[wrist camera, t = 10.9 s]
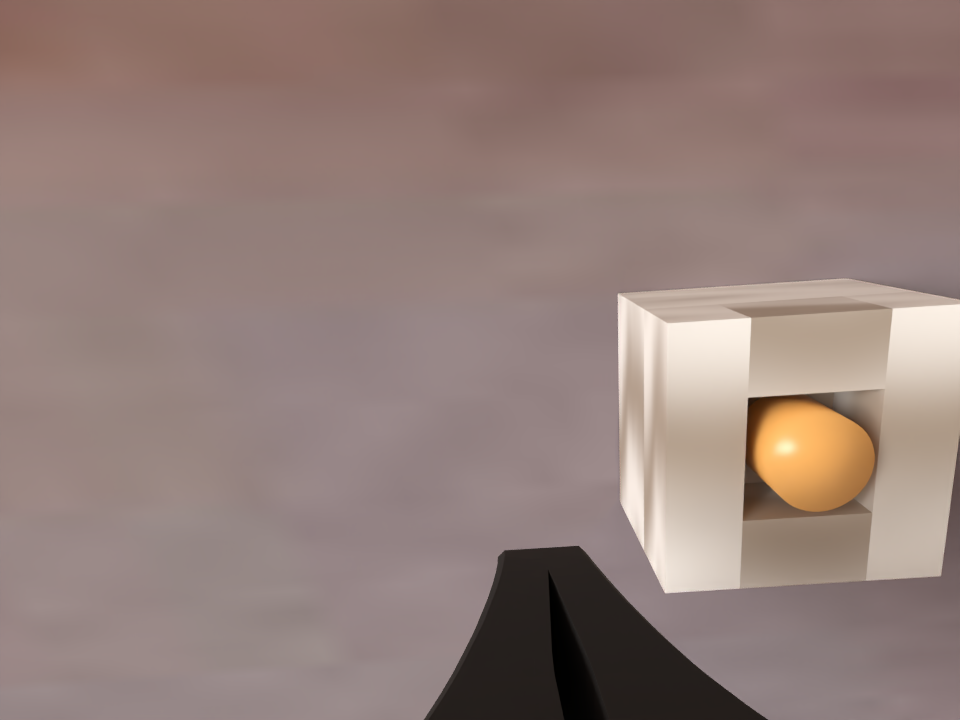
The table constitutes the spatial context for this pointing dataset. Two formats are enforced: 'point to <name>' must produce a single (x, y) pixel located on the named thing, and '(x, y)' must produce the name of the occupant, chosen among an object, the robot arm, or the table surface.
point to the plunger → (807, 452)
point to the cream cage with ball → (774, 372)
